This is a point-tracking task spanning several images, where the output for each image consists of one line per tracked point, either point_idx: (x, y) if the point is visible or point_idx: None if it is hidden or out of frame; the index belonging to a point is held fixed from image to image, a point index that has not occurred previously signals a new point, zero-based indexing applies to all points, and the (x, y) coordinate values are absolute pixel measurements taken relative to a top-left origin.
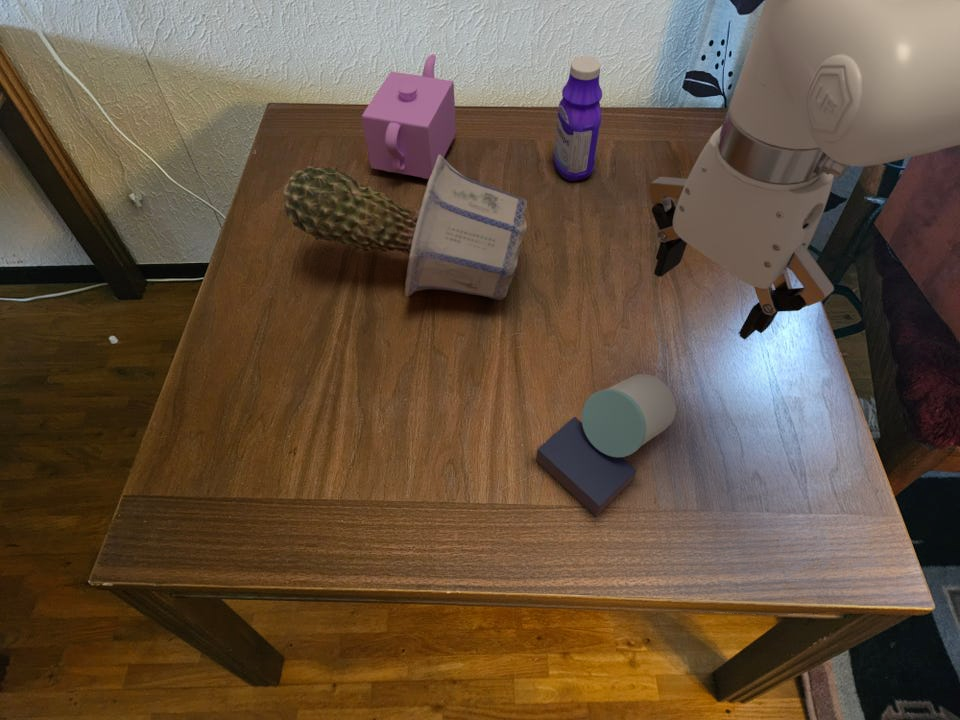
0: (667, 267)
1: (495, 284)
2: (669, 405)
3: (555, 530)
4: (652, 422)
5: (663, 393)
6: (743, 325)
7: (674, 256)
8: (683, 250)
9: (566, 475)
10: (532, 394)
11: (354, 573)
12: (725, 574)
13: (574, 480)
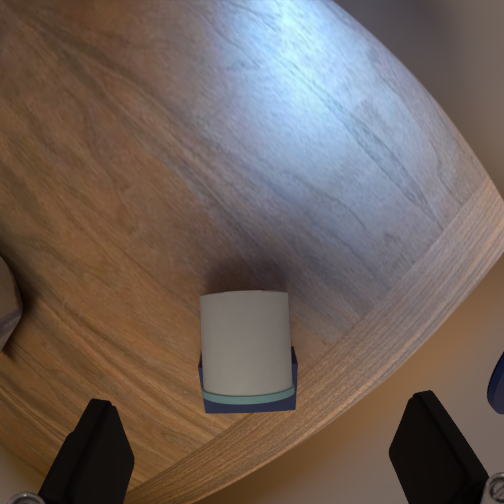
0: (124, 466)
1: (5, 334)
2: (279, 311)
3: (273, 418)
4: (286, 367)
5: (262, 314)
6: (400, 479)
7: (110, 479)
8: (97, 448)
9: (248, 412)
10: (139, 348)
11: (202, 494)
12: (408, 340)
13: (258, 410)
